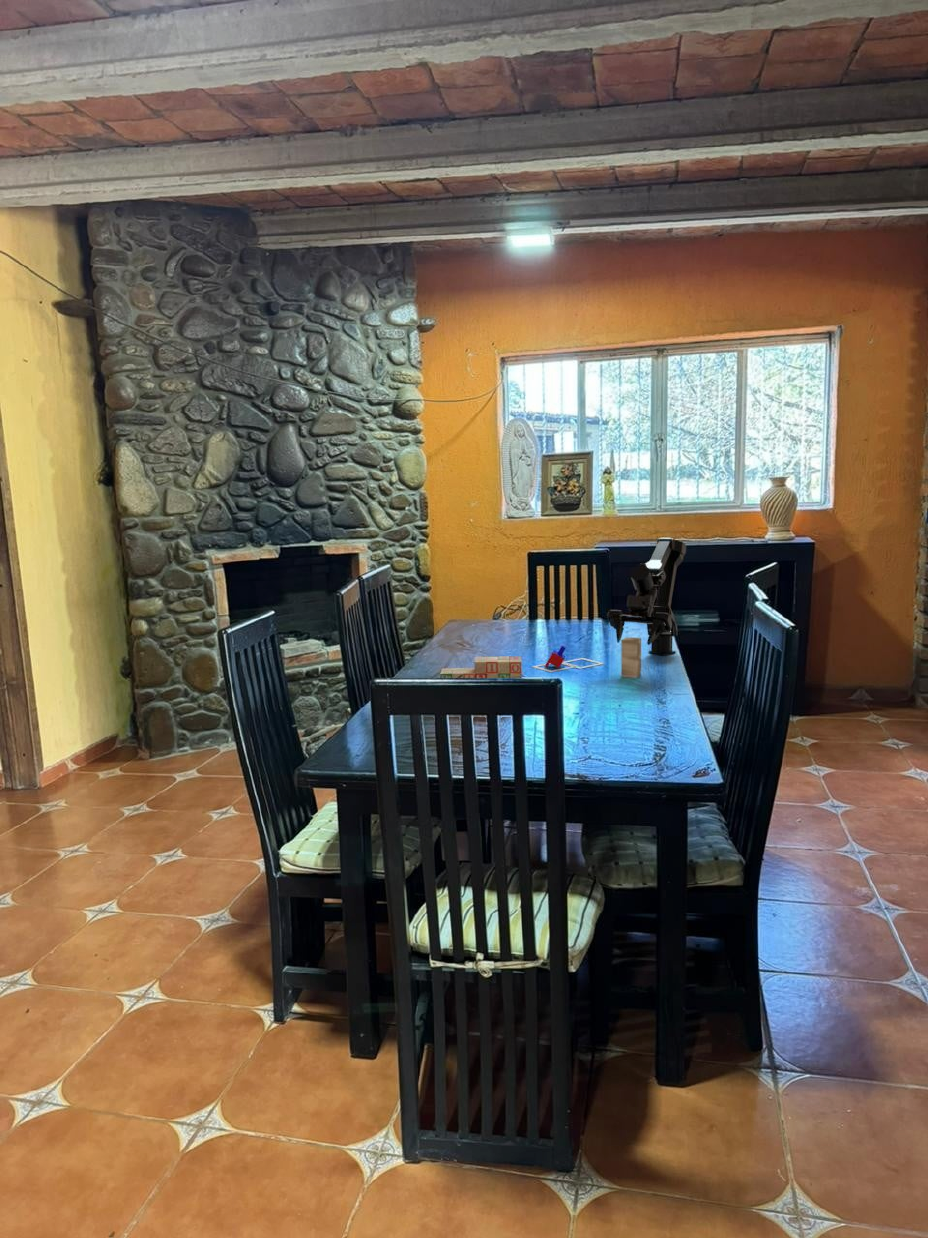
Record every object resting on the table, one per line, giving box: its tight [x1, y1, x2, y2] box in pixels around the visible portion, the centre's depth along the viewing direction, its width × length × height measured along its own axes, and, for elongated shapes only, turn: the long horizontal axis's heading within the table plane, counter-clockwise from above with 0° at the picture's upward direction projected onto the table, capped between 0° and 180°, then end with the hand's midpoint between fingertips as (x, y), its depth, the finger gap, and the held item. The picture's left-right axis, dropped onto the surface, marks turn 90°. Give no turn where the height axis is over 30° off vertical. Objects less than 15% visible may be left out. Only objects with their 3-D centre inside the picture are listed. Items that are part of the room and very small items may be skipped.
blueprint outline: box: [531, 657, 606, 673], centre depth 254 cm, size 20×12×1 cm, turn 123°
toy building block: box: [544, 645, 567, 669], centre depth 252 cm, size 4×4×8 cm
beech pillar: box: [620, 636, 642, 679], centre depth 238 cm, size 4×4×11 cm
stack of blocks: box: [439, 655, 523, 679], centre depth 213 cm, size 21×6×12 cm, turn 86°
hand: (632, 643), depth 239 cm, fingers open, 9 cm apart
